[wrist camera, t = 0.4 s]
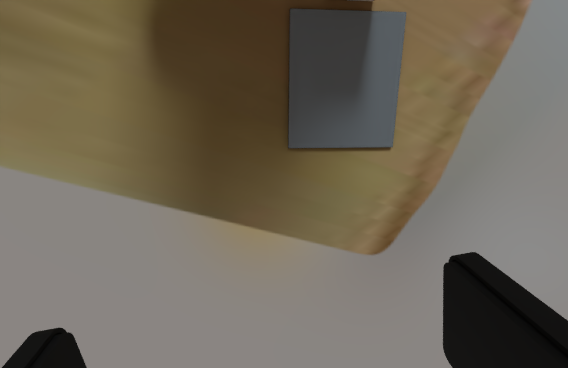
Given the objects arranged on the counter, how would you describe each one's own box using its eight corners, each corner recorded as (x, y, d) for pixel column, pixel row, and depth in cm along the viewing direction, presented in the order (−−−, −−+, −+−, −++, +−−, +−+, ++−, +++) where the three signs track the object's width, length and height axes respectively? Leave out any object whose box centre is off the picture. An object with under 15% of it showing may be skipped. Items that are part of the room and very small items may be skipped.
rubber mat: (289, 9, 33) (290, 8, 33) (404, 13, 35) (406, 12, 34) (288, 147, 37) (288, 148, 37) (391, 146, 39) (392, 147, 38)
